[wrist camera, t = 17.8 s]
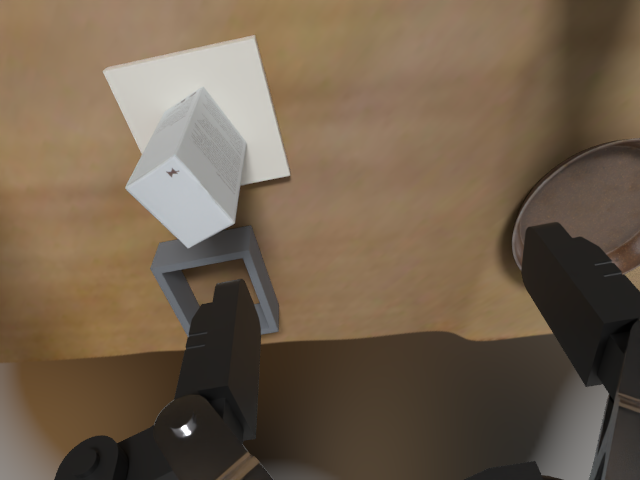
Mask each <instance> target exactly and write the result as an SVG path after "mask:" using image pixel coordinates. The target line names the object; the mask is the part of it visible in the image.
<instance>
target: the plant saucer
mask: <svg viewBox="0 0 640 480" xmlns="http://www.w3.org/2000/svg"><path fill="white" fill-rule="evenodd" d="M552 222H558V223H560V224H561V225H562V226H563V227H564V229H565V230H566V231H567V232H568V233H569V235H570V236H571V237H572V238H575V237H580V236H581V237H583V238H585V239H587V240H589V241H590V242H592V243H594V244H596V245H597V246H599V247H600V248H601V249H602V250H603V251H604V252H605V253H606V255H607V256H608V257H609V258H610V259H611V260H612V263H615V265H616V266H617V267H618V268H619V269H620V270H621V271H622V275H623V274H626V273H628V272H630V271H632V270H634V269H635V268H637V267H638V266H640V138H637V139H625V140H618V141H612V142H608V143H604V144H600V145H597V146H594V147H591V148H589V149H586V150H584V151H581V152H579V153H577V154H575V155H573V156H571V157H570V158H568V159H566V160H565V161H563V162H562V163H560V164H559V165H557V166H556V167H555V168H553V169H552V170H551V171H550V172H549V173H547V174H546V175H545V176H544V177H543V178H542V179H541V180H540V181H539V182H538V183H537V184H536V185H535V187H534V188H533V189H532V190H531V192H530V193H529V194H528V196H527V198H526V199H525V201H524V203H523V205H522V207H521V209H520V211H519V213H518V215H517V218H516V221H515V225H514V229H513V236H512V250H513V256H514V259H515V261H516V263H517V265H518V267H519V269H520V270H521V269H522V259H523V249H524V240H525V232H526V229H527V228H528V227H530V226H536V225H541V224H547V223H552ZM521 271H522V270H521Z"/></svg>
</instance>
